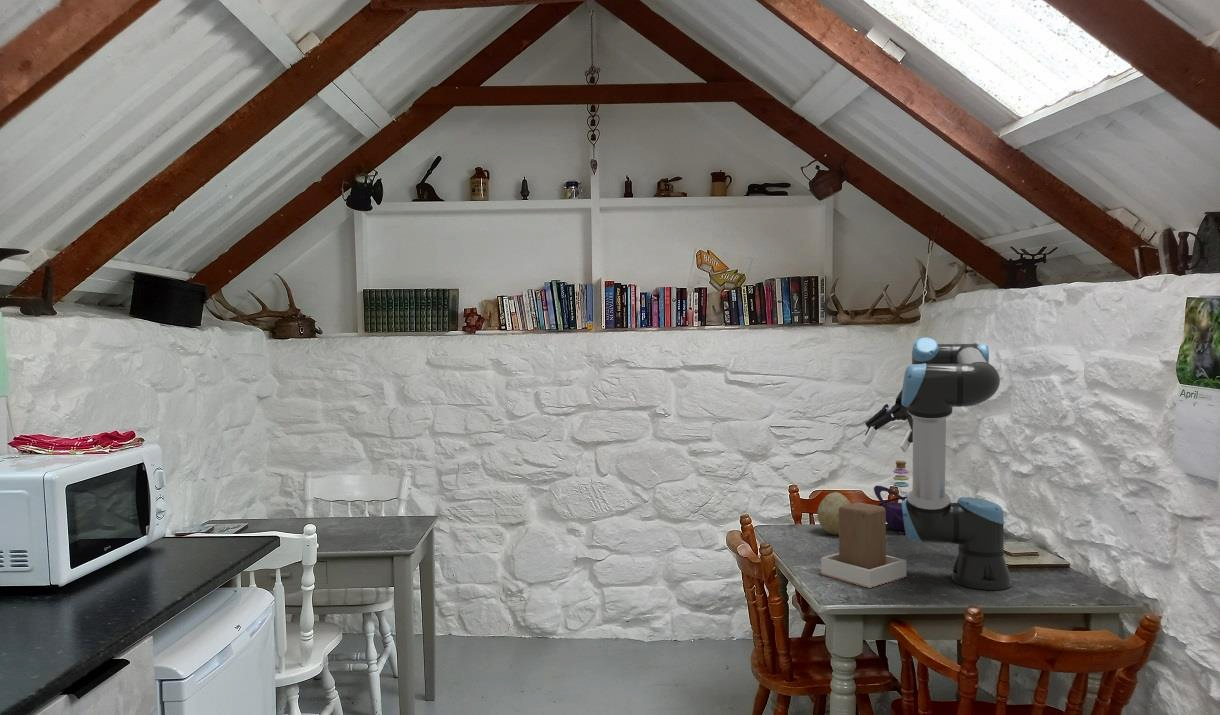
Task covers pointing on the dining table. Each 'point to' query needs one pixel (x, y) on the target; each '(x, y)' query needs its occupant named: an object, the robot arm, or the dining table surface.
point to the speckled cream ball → (831, 512)
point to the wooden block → (862, 535)
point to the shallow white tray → (863, 571)
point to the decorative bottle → (893, 508)
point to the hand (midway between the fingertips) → (883, 447)
